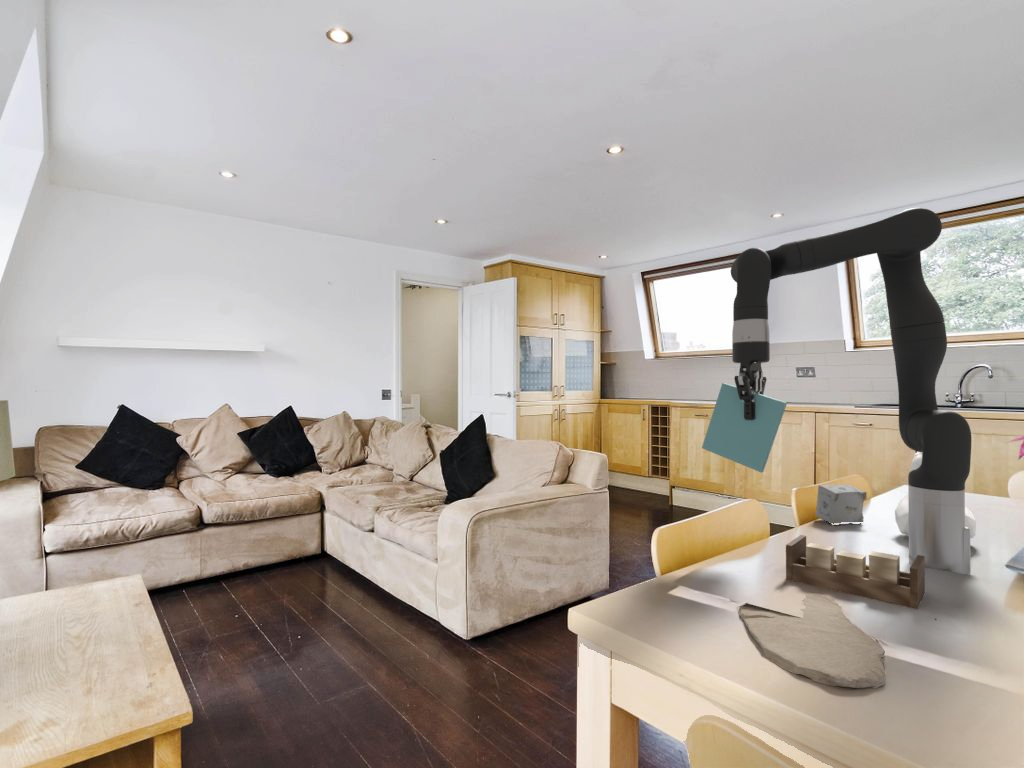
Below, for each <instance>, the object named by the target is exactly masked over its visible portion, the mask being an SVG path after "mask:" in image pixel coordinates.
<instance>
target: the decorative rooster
mask: <svg viewBox="0 0 1024 768" xmlns="http://www.w3.org/2000/svg"><path fill="white" fill-rule="evenodd" d="M922 453H923V452H918V451H917V452H915V453H914V455H913V459H912V461H911V463H910V469H909V473H910V472H911V471H912V470H915V469H917V468H919V467H920V465H921V463H922ZM894 519H895V523H896V525H897V527H898V530H899V532H900V533H901V534H903V535H905V536H908V537H909V498H908V490H907V492H905V494H904V495H903V496H902V497H901V498H900V499H899V502H898V503H897V506H896V508H895V509H894ZM976 526H977V521H976V519H975V516H974V514H973V513H972V512H971V511H970V509H968V508H967V506H966V505H965V527H967V528H969V529H970V539H973V538H974V537H975V536H976V533H977V527H976Z"/></svg>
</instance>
